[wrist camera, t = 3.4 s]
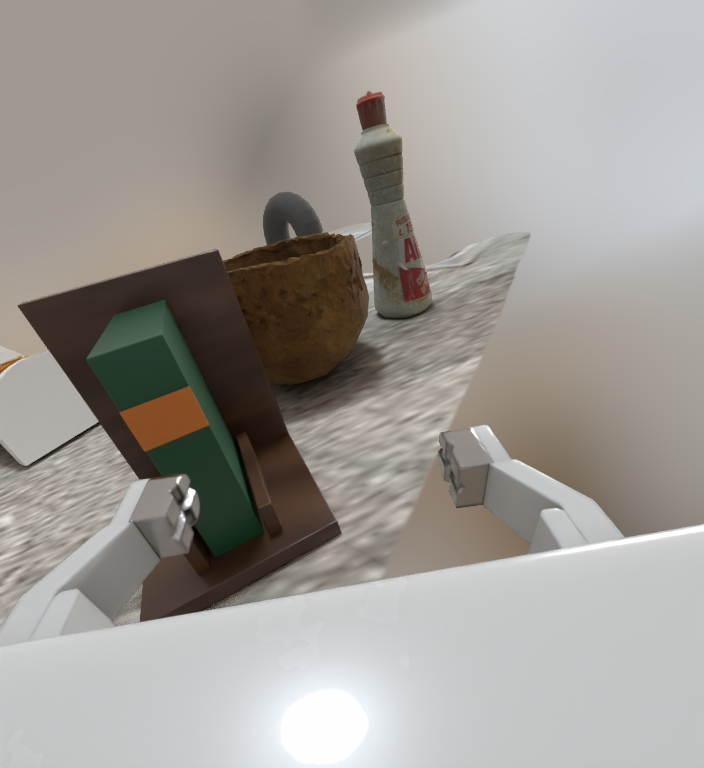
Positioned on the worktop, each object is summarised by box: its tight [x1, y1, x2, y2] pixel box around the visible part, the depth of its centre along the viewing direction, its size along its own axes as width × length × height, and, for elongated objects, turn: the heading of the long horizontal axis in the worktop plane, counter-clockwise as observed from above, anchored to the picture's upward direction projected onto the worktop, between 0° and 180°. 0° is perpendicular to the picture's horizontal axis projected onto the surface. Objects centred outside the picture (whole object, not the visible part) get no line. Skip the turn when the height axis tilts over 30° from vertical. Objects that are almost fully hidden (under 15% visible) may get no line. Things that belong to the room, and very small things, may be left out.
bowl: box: [223, 233, 369, 385], centre depth 41 cm, size 19×19×15 cm
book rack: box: [18, 249, 341, 622], centre depth 23 cm, size 13×12×17 cm
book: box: [86, 300, 264, 557], centre depth 23 cm, size 9×3×14 cm, turn 25°
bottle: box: [354, 91, 432, 319], centre depth 50 cm, size 9×9×28 cm
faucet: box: [263, 192, 323, 245], centre depth 64 cm, size 18×16×20 cm
